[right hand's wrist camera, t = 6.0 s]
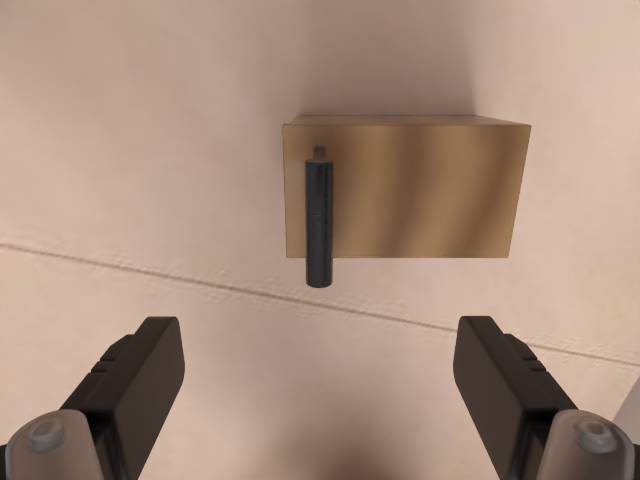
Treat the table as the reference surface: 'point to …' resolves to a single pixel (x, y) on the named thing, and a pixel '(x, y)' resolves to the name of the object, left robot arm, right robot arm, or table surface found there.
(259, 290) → the table surface
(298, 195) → the lid
